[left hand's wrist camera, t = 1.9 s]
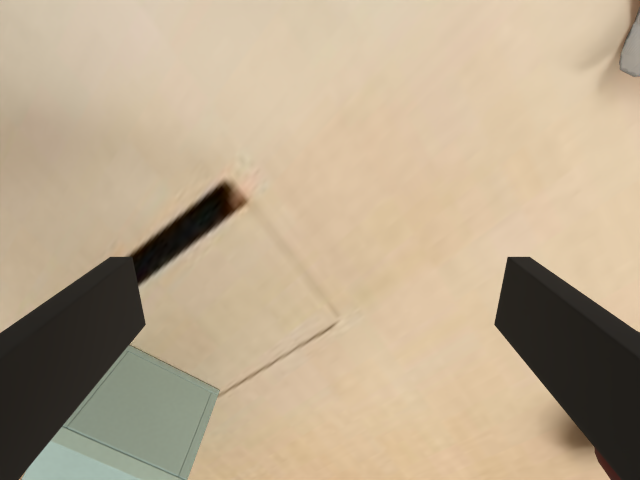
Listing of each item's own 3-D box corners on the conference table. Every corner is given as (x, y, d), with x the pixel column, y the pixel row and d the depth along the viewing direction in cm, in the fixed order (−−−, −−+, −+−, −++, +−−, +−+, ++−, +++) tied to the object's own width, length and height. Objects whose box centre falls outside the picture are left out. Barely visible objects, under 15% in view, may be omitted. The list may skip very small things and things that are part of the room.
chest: (145, 493, 39) (98, 598, 31) (59, 457, 37) (-17, 558, 29) (220, 389, 34) (187, 480, 26) (125, 342, 33) (56, 422, 24)
